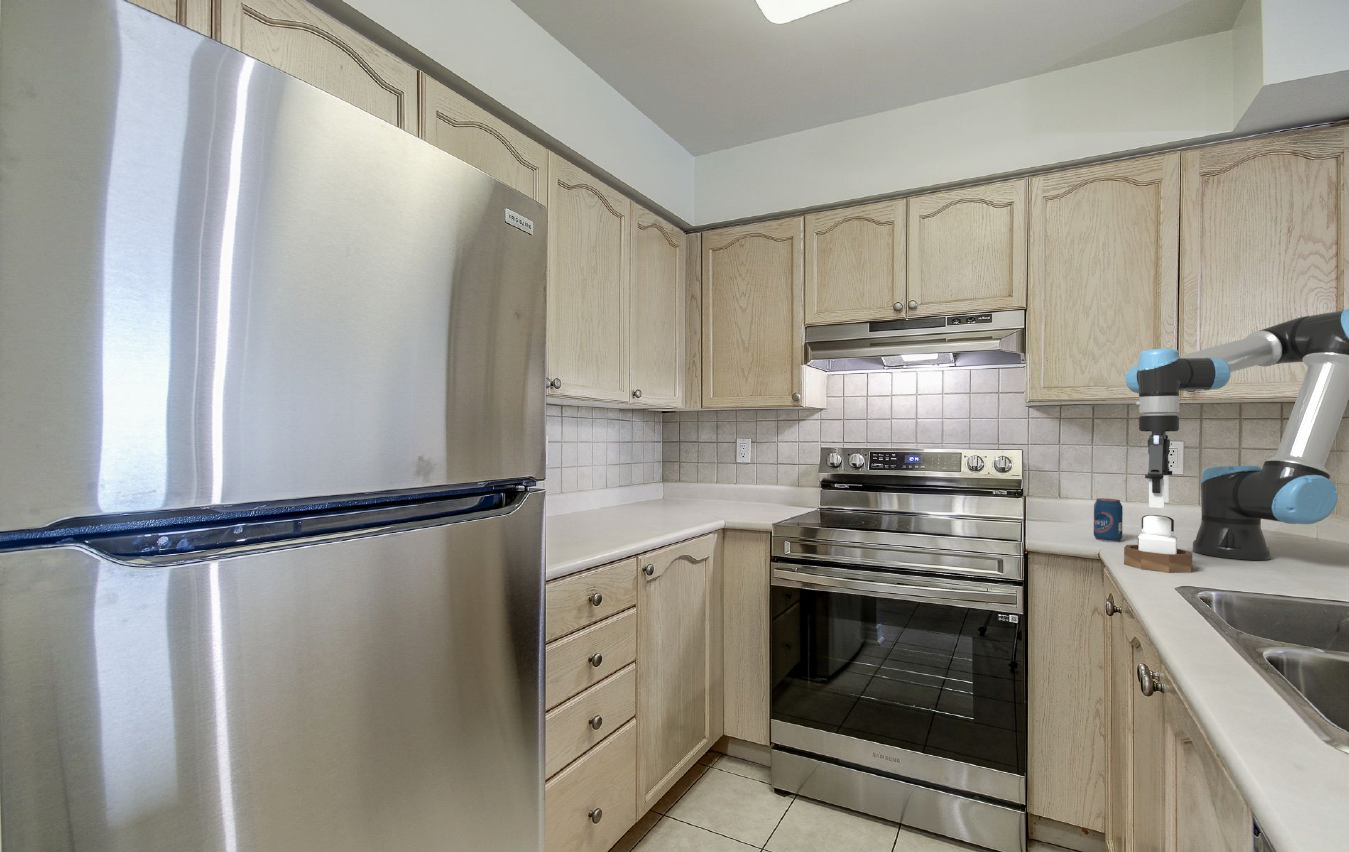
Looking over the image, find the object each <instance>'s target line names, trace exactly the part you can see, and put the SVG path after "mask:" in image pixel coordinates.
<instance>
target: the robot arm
mask: <svg viewBox="0 0 1349 852" xmlns="http://www.w3.org/2000/svg"><path fill="white" fill-rule="evenodd" d="M1288 363H1289V364H1292V363H1303V364H1304V365H1305V366H1306V367H1307V370H1306V373H1305V375H1304V378H1303V380H1302V383H1301V386H1300V389H1299V391H1298V394H1297V397H1296V399H1295V403H1294V405H1293V408H1292V410H1291V413H1290V416H1289V418H1288V421H1287V423H1286V425H1285V429H1284V432H1283V435H1282V438H1281V441H1280V442H1279V446H1278V447H1277V451H1276V454H1275V456H1274V457H1270V458H1268V459H1264V462H1263V464H1262V467H1260V466H1259V465H1232V466H1231V465H1228V466H1227V465H1225V466H1224V465H1223V466H1212V467H1211V466H1210V467H1208V468H1205V469H1204V470H1203V472H1202V473H1201V475H1202V476H1201V481H1200V485H1201V486H1200V487H1201V488H1200V490H1201V491H1200V495H1201V497H1200V498H1201V501H1200V502H1201V503H1200V505H1201V509H1200V510H1201V512H1200V513H1201V519H1200V521H1201V523H1200V525H1199V528H1198V531H1197V533H1196V537H1195V539H1194V540H1193V541H1192V552H1194V553H1197V554H1200V555H1201V554H1202V555H1206V556H1211V557H1216V558H1217V557H1218V558H1224V559H1232V560H1233V559H1235V560H1245V561H1249V560H1250V561H1267V560H1270V559H1271V550H1270V548H1269V547H1268V546H1267V542H1266V538H1265V536H1264V533H1263V530H1262V526H1261V521H1262V520H1267V521H1273V522H1280V523H1285V524H1289V525H1296V524H1298V525H1313V524H1316V523H1319V522H1321V521H1324V520H1325V519H1326V518H1328V517H1329V516H1330V515H1331V514H1332V513H1333V512H1334V510H1335V508H1336V506H1337V503H1338V498H1339V494H1338V493H1337V492H1336V491H1337V487H1336V485H1335V483H1334V482H1332V481H1331V480H1330V478H1331V473H1330V472H1329V471H1328V470H1327V468H1326V467H1325V464H1326V463H1327V460H1328V456H1329V454H1330V452H1331V449H1332V446H1333V443H1334V441H1335V438H1336V434H1337V432H1338V429H1339V427H1340V424H1341V422H1342V418H1343V416H1344V413H1345V410H1346V407H1347V405H1348V401H1349V308H1346V309H1344V310H1338V311H1333V312H1331V311H1330V312H1325V313H1319V314H1312V315H1305V316H1300V317H1297V318H1294V319H1290V320H1288V321H1284V322H1281V323H1278V324H1275V325H1273V326H1269V327H1266V328H1263V329H1260V330H1256V331H1253V332H1251V333H1250V334H1248V335H1247V336H1246V337H1245V338H1242V339H1237V340H1233V341H1230V342H1226V343H1223V344H1219V345H1215V346H1211V347H1207V348H1203V349H1200V350H1197V351H1193V352H1190V353H1184V354H1182V355H1180V354H1179V350H1178V349H1176V348H1155V349H1154V348H1153V349H1147V350H1144V351H1141V352H1140V353H1139V357H1138V363H1137V364H1138V365H1135V366H1133V367H1131V368H1129V369H1128V371H1127V372H1126V374H1125V375H1126V376H1125V383H1126V386H1127V389H1129V390H1130V391H1131V392H1133V393H1136V394H1138V400H1137V401H1136V402H1135V406H1138V413H1139V414H1142V415H1141V416H1139V417H1138V430H1139V431H1140V432H1151V435H1149V437H1148V439H1147V447H1148V451H1147V452H1148V469H1147V470H1148V471H1147V473H1145V474H1144V478H1145V479H1148V507H1149V508H1159V509H1165V503H1170V476H1173V470H1170V465H1169V455H1170V446H1171V440H1170V439H1169V436H1168V434H1167V432H1178V431H1179V430H1180V417H1179V416H1178V415H1177V414H1178V413H1180V392H1182V391H1183V392H1184V391H1185V392H1186V391H1198V390H1199V391H1201V390H1203V391H1211V390H1212V391H1213V390H1219V389H1222V388H1223V387H1225V386H1226V385H1227V383H1228V382H1229V381H1230V378H1231V373H1232V372H1233V373H1234V372H1236V371H1240V370H1244V369H1248V368H1251V367H1255V366H1259V367H1265V368H1266V367H1270V366H1273V365H1279V364H1280V365H1281V364H1288Z"/></svg>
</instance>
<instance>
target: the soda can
mask: <svg viewBox="0 0 1349 852" xmlns="http://www.w3.org/2000/svg"><path fill="white" fill-rule="evenodd" d="M1123 509H1124V508H1123V505H1122V503H1121V500H1120V499H1115V498H1104V497H1103V498H1099V497H1098V498H1096V500H1095V502H1094V504H1093V536H1094V538H1095V539H1096V540H1097V541H1100V542H1107V543H1120V541H1121V540H1122V539H1123V515H1124V514H1123Z"/></svg>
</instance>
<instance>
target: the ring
mask: <svg viewBox="0 0 1349 852" xmlns="http://www.w3.org/2000/svg"><path fill="white" fill-rule="evenodd" d="M1123 565H1125V566H1129V567H1132V568H1136V569H1139V568H1140V570H1145V571H1146V570H1147V571H1153V572H1160V571H1162V573H1168V574H1169V573H1171V574H1173V573H1174V574H1175V572H1176V573H1177V572H1178V574H1180V573H1179V572H1191V573H1192V572H1193V551H1191V550H1185V549H1181V548H1177V554H1163V553H1154V552H1145V551H1140V550H1138V544H1126V545H1125V546H1124V547H1123Z"/></svg>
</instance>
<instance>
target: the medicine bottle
mask: <svg viewBox="0 0 1349 852" xmlns="http://www.w3.org/2000/svg"><path fill="white" fill-rule="evenodd" d="M1174 534H1175V520H1174V519H1173V518H1172V517H1170V516H1167V515H1160V514H1159V515H1158V514H1146V515H1143V516H1142V517H1141V532H1140V533H1139V535H1138V537H1137V545H1138V550H1140V551H1145V552H1154V553H1163V554H1177V549H1178V537H1177V536H1176V535H1174Z"/></svg>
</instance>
